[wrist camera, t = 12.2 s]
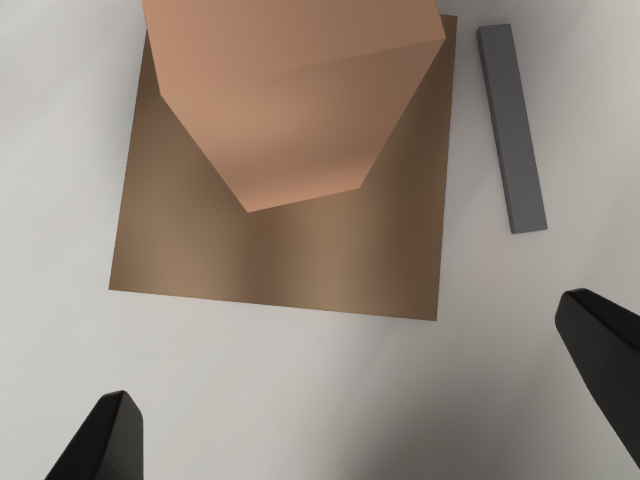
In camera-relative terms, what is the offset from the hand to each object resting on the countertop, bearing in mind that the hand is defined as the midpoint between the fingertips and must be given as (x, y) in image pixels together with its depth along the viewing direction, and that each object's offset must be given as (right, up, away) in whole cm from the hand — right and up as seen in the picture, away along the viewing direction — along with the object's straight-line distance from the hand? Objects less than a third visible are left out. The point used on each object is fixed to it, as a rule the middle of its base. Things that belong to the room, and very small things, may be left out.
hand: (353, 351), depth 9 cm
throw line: (+8, +8, +12) cm, 17 cm away
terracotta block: (-2, +6, +11) cm, 13 cm away
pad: (-2, +6, +12) cm, 13 cm away
